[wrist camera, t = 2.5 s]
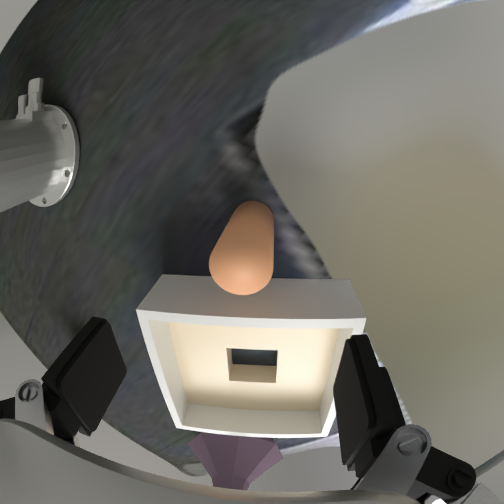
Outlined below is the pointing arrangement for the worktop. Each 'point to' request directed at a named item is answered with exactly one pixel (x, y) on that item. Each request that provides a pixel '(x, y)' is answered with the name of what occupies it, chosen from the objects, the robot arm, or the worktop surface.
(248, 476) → the flask
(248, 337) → the box
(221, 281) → the peg
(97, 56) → the worktop surface
